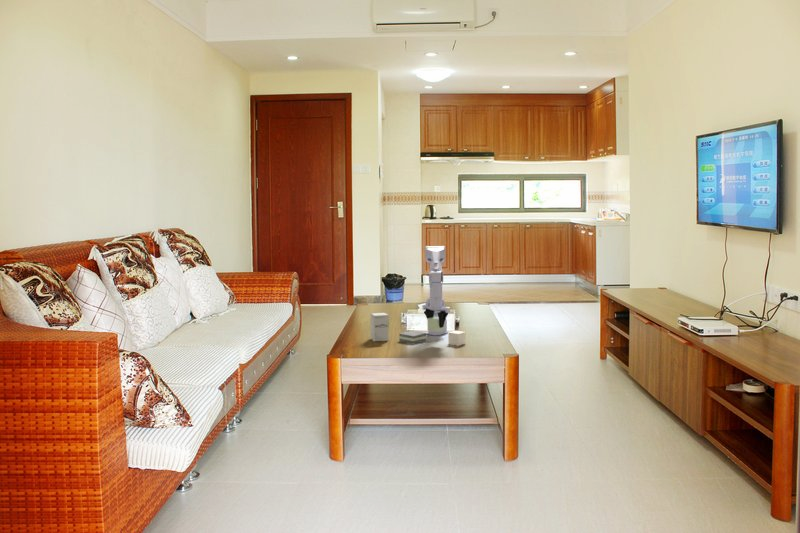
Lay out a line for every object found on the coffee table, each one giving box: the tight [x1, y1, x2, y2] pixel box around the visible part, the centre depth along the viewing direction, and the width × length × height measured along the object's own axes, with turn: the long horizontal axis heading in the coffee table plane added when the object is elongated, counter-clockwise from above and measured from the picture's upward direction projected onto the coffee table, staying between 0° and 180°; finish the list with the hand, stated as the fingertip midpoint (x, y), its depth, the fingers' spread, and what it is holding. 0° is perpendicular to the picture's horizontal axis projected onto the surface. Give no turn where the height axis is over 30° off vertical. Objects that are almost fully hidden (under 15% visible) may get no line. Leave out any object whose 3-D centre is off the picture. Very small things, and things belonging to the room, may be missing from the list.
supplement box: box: [370, 312, 390, 343], centre depth 325 cm, size 7×7×13 cm
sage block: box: [427, 317, 445, 332], centre depth 313 cm, size 6×6×6 cm
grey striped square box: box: [398, 330, 427, 345], centre depth 323 cm, size 9×9×4 cm
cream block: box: [448, 330, 466, 347], centre depth 316 cm, size 6×6×6 cm
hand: (436, 326), depth 313 cm, fingers closed on sage block, 6 cm apart
